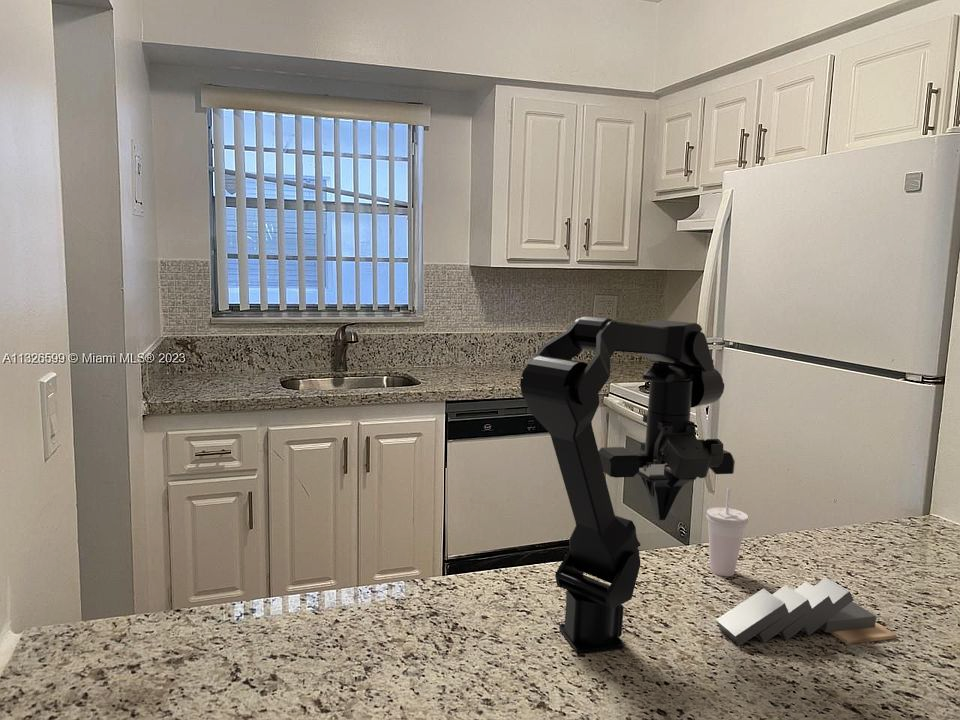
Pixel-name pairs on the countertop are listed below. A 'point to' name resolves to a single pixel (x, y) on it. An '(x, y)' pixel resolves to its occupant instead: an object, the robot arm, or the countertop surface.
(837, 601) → the tile
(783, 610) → the tile
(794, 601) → the tile
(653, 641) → the countertop surface
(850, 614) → the tile
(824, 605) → the tile
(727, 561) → the smoothie
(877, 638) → the pad
